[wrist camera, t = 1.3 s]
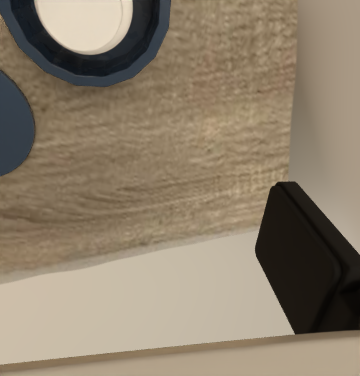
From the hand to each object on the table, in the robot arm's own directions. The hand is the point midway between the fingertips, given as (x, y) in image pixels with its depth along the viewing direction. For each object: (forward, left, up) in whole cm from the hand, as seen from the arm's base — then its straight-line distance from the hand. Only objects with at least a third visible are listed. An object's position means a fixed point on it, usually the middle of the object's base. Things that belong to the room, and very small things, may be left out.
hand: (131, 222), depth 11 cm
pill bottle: (-4, +4, -24) cm, 25 cm away
